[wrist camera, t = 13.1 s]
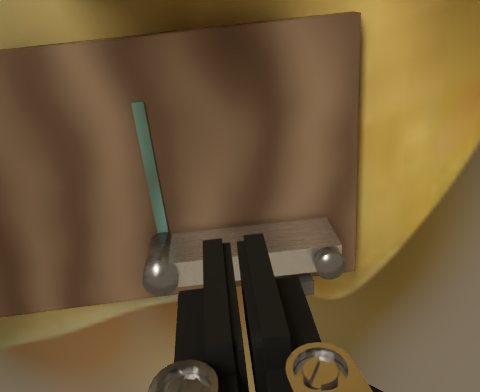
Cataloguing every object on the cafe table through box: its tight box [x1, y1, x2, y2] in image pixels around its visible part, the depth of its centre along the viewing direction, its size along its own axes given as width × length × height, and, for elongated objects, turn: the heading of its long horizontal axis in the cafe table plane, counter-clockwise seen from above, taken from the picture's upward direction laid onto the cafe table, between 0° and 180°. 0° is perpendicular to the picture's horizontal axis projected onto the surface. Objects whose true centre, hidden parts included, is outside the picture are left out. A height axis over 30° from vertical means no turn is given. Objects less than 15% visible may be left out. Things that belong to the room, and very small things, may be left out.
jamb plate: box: [0, 12, 361, 317], centre depth 31 cm, size 30×20×6 cm, turn 95°
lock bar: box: [142, 217, 346, 296], centre depth 32 cm, size 14×2×5 cm, turn 94°
